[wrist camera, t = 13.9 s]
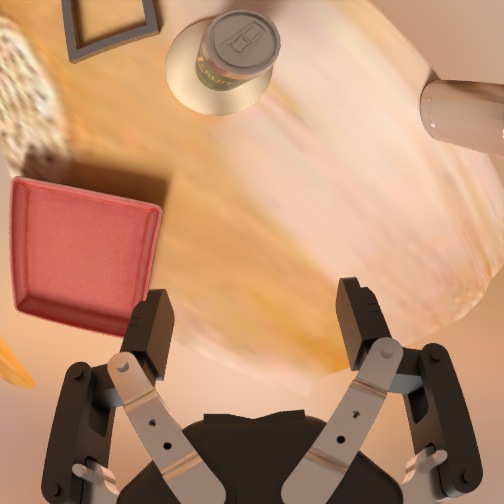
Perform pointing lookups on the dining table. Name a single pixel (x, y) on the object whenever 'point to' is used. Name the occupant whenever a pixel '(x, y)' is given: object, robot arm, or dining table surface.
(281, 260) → the dining table surface
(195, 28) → the coaster
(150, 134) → the dining table surface
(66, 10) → the collar
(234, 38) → the beer can
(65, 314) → the plant saucer
